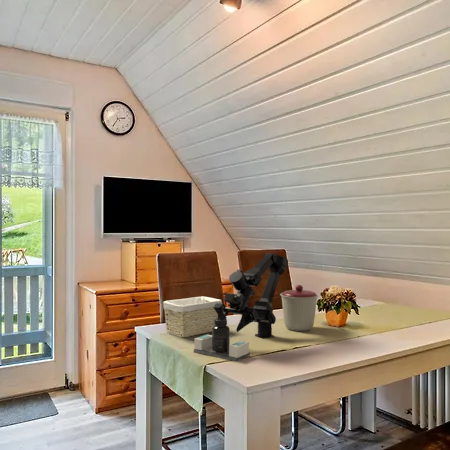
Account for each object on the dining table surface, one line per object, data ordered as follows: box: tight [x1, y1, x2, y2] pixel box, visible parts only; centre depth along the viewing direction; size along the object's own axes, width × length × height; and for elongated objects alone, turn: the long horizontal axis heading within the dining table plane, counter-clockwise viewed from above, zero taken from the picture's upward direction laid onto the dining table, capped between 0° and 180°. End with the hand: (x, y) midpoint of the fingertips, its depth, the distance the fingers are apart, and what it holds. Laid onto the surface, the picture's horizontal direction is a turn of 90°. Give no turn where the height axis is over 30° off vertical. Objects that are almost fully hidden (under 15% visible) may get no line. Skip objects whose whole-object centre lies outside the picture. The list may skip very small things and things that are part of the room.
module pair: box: [193, 334, 250, 358], centre depth 166 cm, size 20×8×4 cm, turn 55°
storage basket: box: [162, 295, 223, 338], centre depth 201 cm, size 24×16×15 cm
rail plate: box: [193, 347, 251, 362], centre depth 166 cm, size 20×9×1 cm, turn 55°
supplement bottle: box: [211, 318, 231, 353], centre depth 166 cm, size 7×7×12 cm
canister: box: [279, 284, 319, 332], centre depth 208 cm, size 18×18×21 cm
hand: (227, 329), depth 169 cm, fingers open, 9 cm apart
